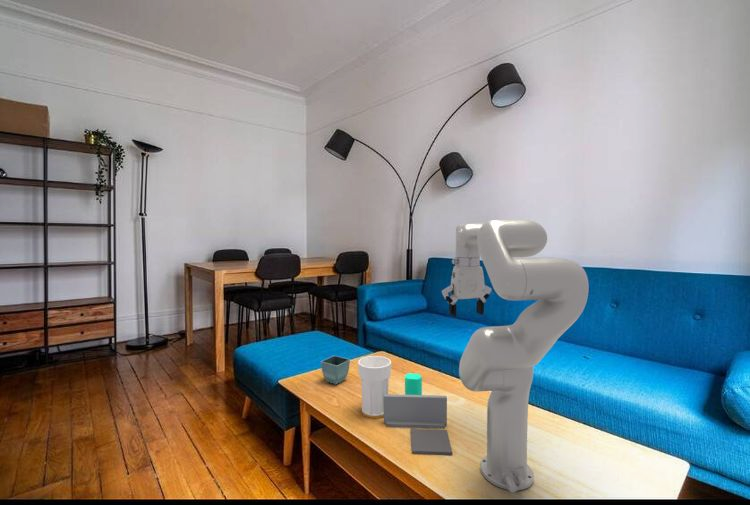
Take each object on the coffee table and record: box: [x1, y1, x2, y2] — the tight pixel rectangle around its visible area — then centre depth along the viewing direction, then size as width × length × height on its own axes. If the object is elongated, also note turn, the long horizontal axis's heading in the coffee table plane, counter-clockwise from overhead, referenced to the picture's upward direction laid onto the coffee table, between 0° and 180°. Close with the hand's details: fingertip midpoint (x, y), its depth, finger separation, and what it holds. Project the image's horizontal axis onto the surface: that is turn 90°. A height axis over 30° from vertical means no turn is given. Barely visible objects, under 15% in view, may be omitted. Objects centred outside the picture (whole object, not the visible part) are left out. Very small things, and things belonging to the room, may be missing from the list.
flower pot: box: [320, 355, 351, 385], centre depth 144 cm, size 9×9×9 cm
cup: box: [357, 355, 392, 419], centre depth 119 cm, size 11×11×17 cm
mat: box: [410, 428, 453, 456], centre depth 102 cm, size 11×11×1 cm
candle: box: [404, 371, 423, 395], centre depth 124 cm, size 6×6×12 cm
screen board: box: [383, 393, 448, 430], centre depth 112 cm, size 5×20×9 cm, turn 86°
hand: (466, 314), depth 114 cm, fingers open, 9 cm apart
